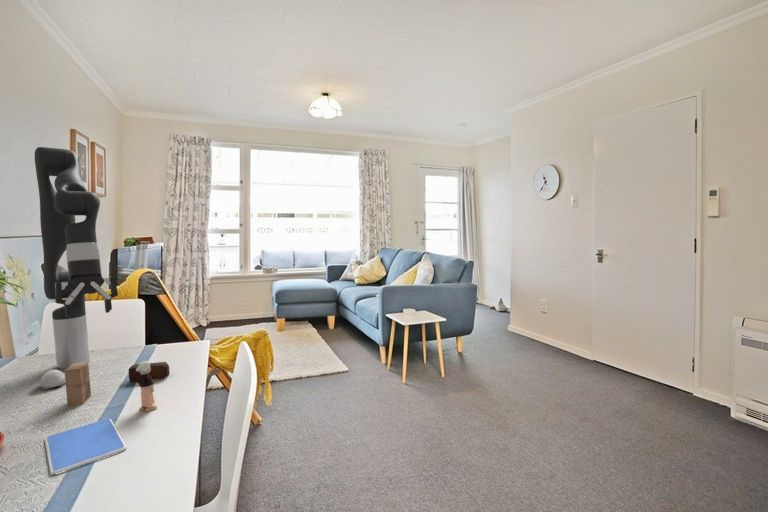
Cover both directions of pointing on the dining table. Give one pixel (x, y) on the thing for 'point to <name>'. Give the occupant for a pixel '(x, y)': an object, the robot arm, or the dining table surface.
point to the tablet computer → (82, 445)
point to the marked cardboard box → (77, 383)
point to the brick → (156, 371)
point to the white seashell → (52, 379)
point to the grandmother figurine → (145, 386)
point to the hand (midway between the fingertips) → (89, 315)
